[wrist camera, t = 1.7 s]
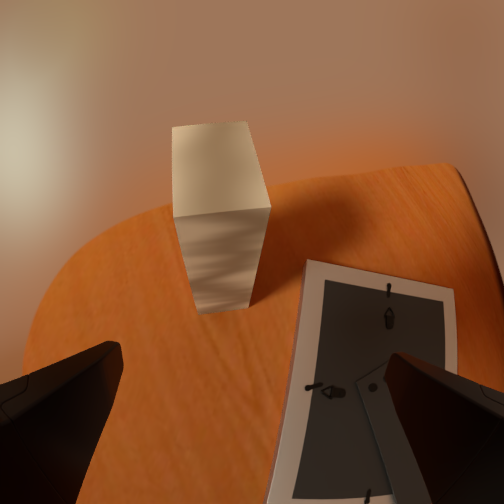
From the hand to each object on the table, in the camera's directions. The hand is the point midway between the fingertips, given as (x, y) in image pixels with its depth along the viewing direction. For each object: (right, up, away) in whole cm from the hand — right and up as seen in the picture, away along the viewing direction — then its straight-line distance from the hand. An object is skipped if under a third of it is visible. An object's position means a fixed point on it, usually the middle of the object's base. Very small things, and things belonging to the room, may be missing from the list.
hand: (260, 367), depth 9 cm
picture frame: (+10, -9, +13) cm, 18 cm away
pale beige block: (-3, +1, +16) cm, 16 cm away
